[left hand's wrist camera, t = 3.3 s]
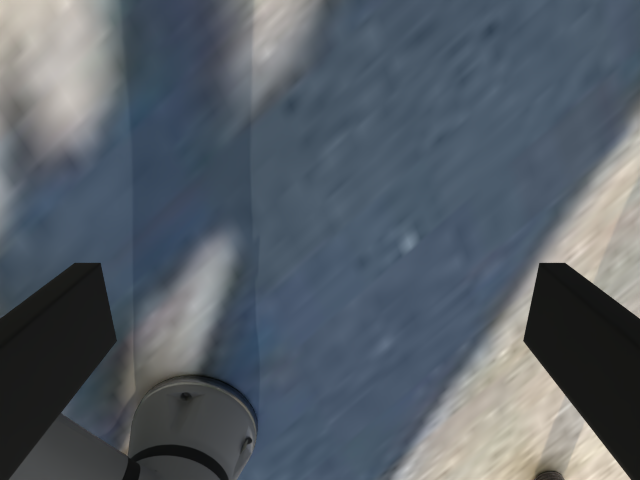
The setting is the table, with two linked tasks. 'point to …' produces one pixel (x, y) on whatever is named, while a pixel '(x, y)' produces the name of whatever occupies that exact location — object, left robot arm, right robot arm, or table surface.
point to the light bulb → (550, 476)
